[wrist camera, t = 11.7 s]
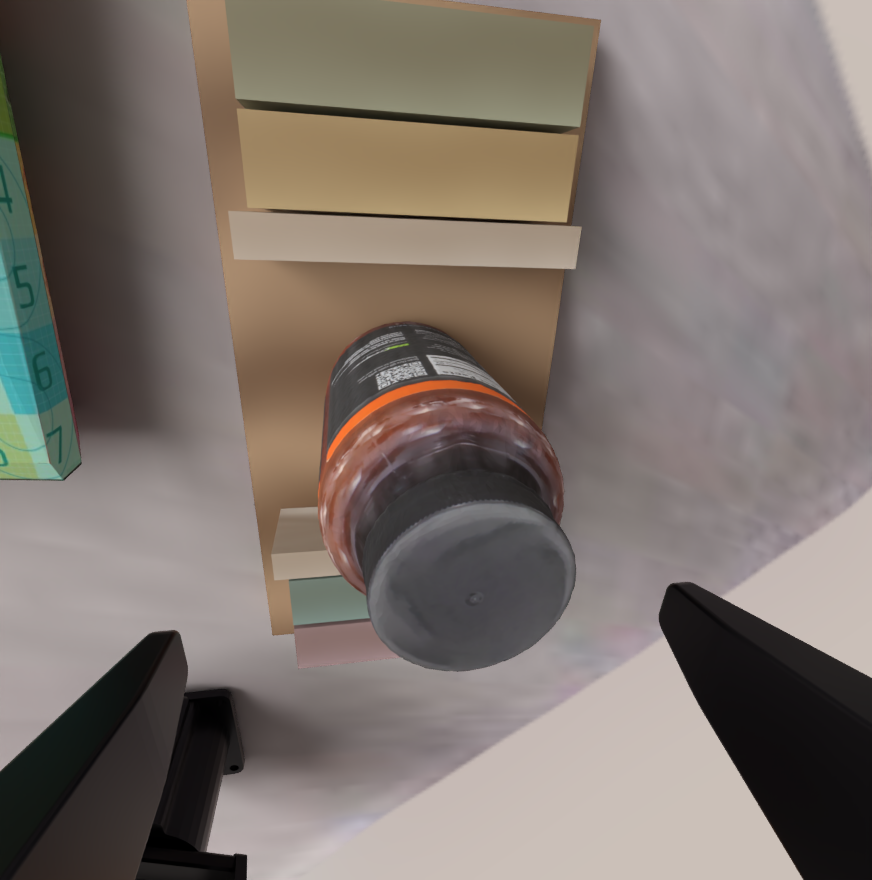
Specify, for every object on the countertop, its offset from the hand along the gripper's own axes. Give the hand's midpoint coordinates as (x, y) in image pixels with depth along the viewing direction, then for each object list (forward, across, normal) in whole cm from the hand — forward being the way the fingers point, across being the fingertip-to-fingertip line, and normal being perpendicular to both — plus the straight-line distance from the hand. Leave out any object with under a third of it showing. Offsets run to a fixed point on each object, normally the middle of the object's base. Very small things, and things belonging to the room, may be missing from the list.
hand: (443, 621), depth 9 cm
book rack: (+13, 0, 0) cm, 13 cm away
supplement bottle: (+12, 0, 0) cm, 12 cm away
